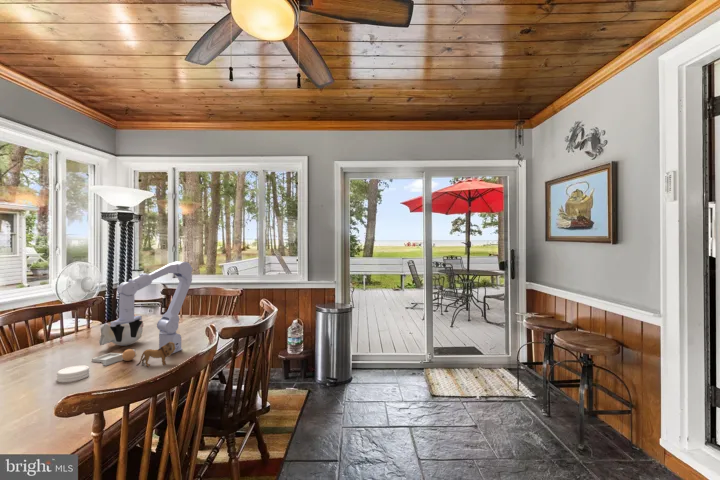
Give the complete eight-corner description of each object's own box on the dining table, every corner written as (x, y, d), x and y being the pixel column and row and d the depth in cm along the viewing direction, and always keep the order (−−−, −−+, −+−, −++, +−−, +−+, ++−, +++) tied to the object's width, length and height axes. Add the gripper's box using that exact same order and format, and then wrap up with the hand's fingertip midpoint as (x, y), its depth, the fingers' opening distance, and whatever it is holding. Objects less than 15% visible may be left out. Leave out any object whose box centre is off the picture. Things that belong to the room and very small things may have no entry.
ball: (138, 359, 163) (138, 348, 163) (128, 362, 158) (128, 351, 159) (129, 358, 165) (129, 347, 165) (119, 361, 160) (119, 350, 160)
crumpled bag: (144, 345, 185) (144, 316, 185) (98, 351, 174) (99, 320, 174) (142, 338, 198) (142, 311, 198) (100, 344, 188) (100, 315, 188)
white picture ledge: (136, 355, 169) (136, 349, 169) (106, 365, 155) (106, 359, 155) (132, 354, 170) (132, 349, 170) (102, 365, 155) (102, 359, 155)
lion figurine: (175, 360, 163) (175, 340, 163) (174, 363, 158) (175, 343, 158) (136, 365, 156) (137, 344, 156) (135, 368, 151) (135, 347, 151)
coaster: (85, 371, 148) (85, 363, 148) (92, 377, 142) (92, 368, 142) (53, 378, 140) (54, 369, 140) (60, 385, 134) (60, 375, 134)
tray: (125, 357, 166) (125, 354, 166) (107, 363, 158) (107, 360, 158) (110, 355, 169) (110, 352, 169) (91, 361, 160) (91, 358, 160)
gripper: (132, 305, 169) (132, 334, 169) (104, 311, 155) (104, 343, 155) (145, 306, 168) (145, 335, 168) (118, 312, 154) (117, 344, 154)
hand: (126, 339), depth 161 cm, fingers open, 7 cm apart
